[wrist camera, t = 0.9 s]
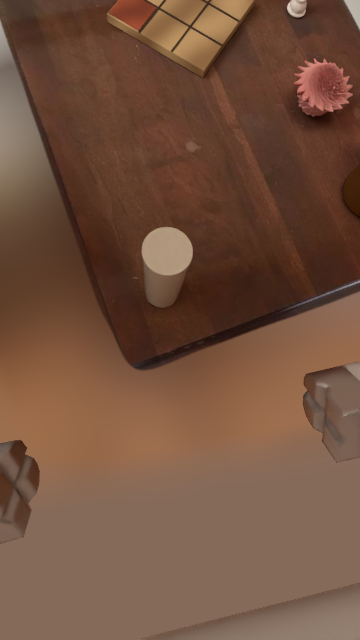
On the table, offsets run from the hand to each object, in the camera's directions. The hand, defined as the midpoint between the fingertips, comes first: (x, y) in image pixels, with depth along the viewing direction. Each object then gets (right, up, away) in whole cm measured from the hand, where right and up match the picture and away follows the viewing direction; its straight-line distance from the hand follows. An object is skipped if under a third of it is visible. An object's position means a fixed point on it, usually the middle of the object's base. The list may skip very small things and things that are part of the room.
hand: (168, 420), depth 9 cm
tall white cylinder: (-2, +6, +26) cm, 27 cm away
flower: (+18, +32, +33) cm, 49 cm away
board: (+1, +46, +33) cm, 57 cm away
